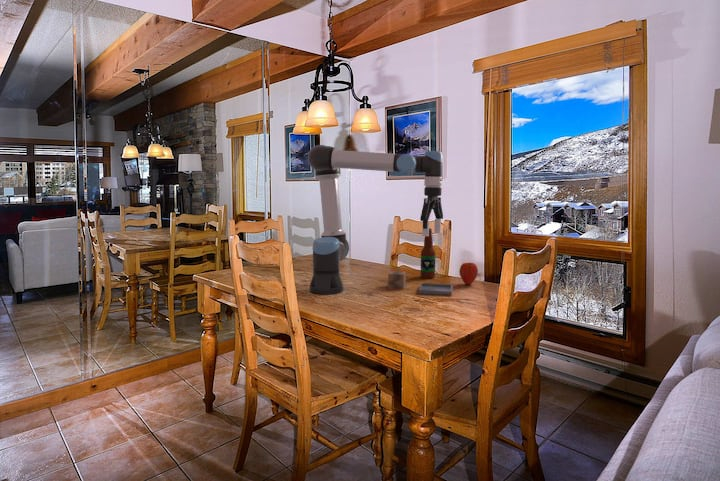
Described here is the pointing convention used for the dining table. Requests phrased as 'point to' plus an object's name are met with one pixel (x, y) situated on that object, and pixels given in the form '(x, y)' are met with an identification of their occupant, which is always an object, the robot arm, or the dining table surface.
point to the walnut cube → (396, 280)
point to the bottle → (428, 258)
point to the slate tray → (436, 289)
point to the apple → (468, 272)
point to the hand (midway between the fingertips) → (431, 234)
